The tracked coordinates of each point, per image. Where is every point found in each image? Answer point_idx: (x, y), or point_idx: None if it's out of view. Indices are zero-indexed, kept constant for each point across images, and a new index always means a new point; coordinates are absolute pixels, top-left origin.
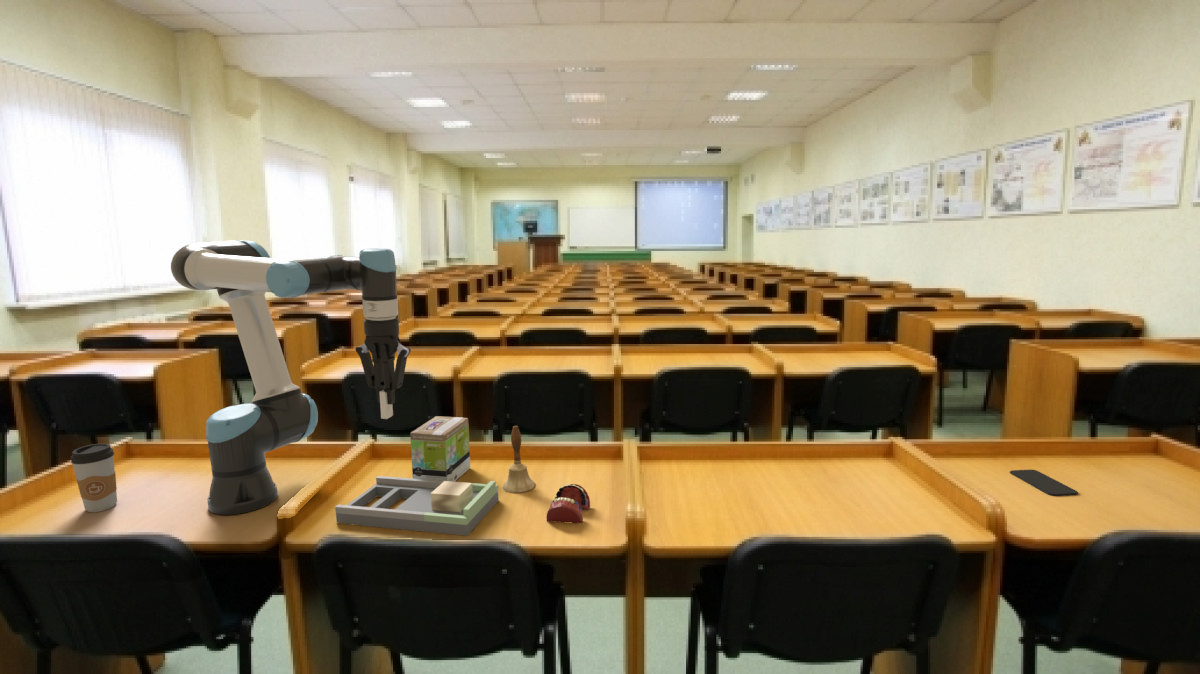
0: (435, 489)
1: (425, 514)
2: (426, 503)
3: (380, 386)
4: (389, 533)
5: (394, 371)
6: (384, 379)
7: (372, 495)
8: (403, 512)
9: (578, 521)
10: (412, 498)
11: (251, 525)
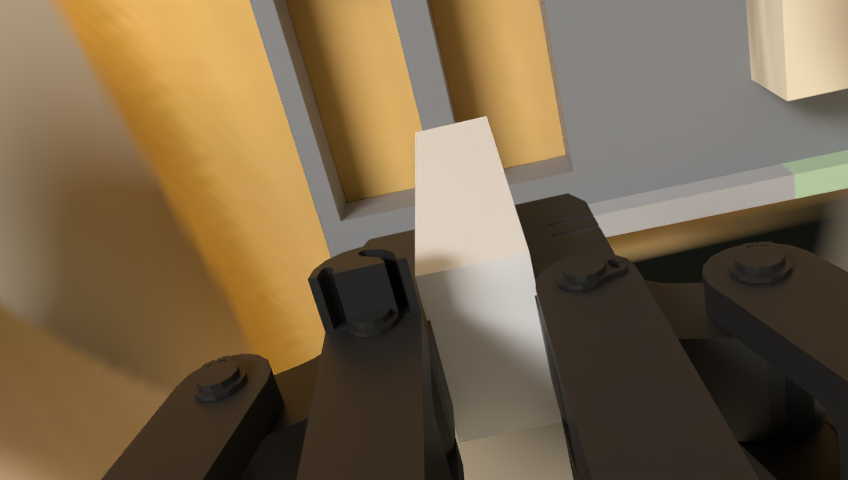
0: (788, 48)
1: (800, 193)
2: (681, 31)
3: (461, 468)
4: (619, 237)
5: (754, 478)
6: (430, 410)
7: (283, 9)
8: (682, 217)
9: None
10: (571, 13)
11: (57, 389)
